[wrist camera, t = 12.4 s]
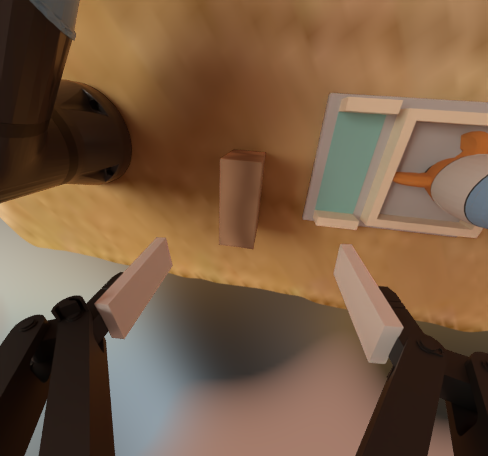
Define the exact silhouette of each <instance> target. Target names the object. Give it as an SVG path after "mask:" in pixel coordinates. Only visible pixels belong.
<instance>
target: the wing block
mask: <svg viewBox="0 0 488 456" xmlns="http://www.w3.org/2000/svg"><path fill="white" fill-rule="evenodd" d="M265 154H266V152H256V151H245V150H232V151H231V152H229V153H228V154H226V155H225V156H223V157H222V158H220V207H219V245H226V246H234V247H241V248H249V249H253V248H254V242H255V237H256V231H257V225H258V218H259V209H260V200H261V191H262V181H263V172H264V163H265Z"/></svg>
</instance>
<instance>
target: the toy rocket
mask: <svg viewBox="0 0 488 456" xmlns="http://www.w3.org/2000/svg"><path fill="white" fill-rule="evenodd" d="M460 149H461V150H462V152H461V153H460V154H459V155H457V156H456V157H455V158H448V159H445V160H442V161H440V162H437V163H436V164H434V165H432V166H431V167H429V168H428V169H427V170H426V171H425V173H412V172H396V173H395V175H394V178H393V180H392V181H393V182H395V183H398V184H401V185H406V186H413V187H423V188H425V190H426V191H427V193H428V194H429V195H430V197H431V198H432V200H433V201H434V202H435V203H436V205H437V206H439V207H440V208H441V209H442V210H444V211H445V212H447V213H449V214H450V215H452V216H454V217H456V218H458V219H460V220H462V221H464V222H466V223H469V224H471V225H475V226H478V227H482V228H486V229H488V133H486V132H483V131H471V132H468V133H465V134H463V135H461V143H460Z"/></svg>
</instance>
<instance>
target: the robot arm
mask: <svg viewBox="0 0 488 456" xmlns="http://www.w3.org/2000/svg"><path fill="white" fill-rule="evenodd" d="M79 1H80V0H0V203H3V202H6V201H9V200H13V199H16V198H19V197H22V196H26V195H29V194H32V193H36V192H39V191H42V190H46V189H49V188H52V187H55V186H59V185H62V184H83V185H100V184H104V183H107V182H110V181H113V180H115V179H117V178H119V177H120V176H122V175H123V174H124V172H125V171H126V170H127V168H128V166H129V163H130V159H131V140H130V136H129V132H128V129H127V127H126V124H125V122H124V120H123V118H122V117H121V115H120V113H119V112H118V110H117V109H116V108H115V106H114V105H113V104H112V103H111V102H110V101H109V100H108V99H107V98H106V97H105V96H104V95H103V94H102V93H100V92H99V91H97V90H96V89H94V88H92V87H90V86H88V85H86V84H83V83H79V82H74V81H69V80H61V78H62V74H63V70H64V67H65V63H66V60H67V56H68V53H69V49H70V46H71V42H72V40H74V41H75V38H76V33H75V31H74V29H75V23H76V18H77V12H78V6H79ZM172 266H173V265H172V261H171V257H170V253H169V249H168V244H167V240H166V238H160V237H157V238H156V239H155V240H154V241H153V242H152V243H151V244H150V245H149V246H148V247H147V248H146V249H145V250H144V251H143V252H142V254H141V255H140V256H139V257H138V258H137V259H136V260H135V261H134V262H133V263H132V264H131V265H130V266H129V267H128V268H127V269H126V271H125V272H120V273H118V274H117V275H115V276H114V277H112V278H111V279H110V280H109V281H108V282H107V284H105V285H104V286H103V287H102V289H100V290H99V291H98V292H97V293H96V294H95V295H94V296H93V297H92V298H91V299H90V300H89V302H87V304H86V303H85V301H84V299H83V297H81V296H72V297H68V298H66V299H63V300H62V301H60V302H59V303H57V304H56V305H55V306H54V307H53V309H52V311H51V312H52V314H53V315H54V316H55V318H56V319H53V320H48V321H47V320H46V319H45V317H44V316H43V315H34V316H31V317H28V318H26V319H24V320H22V321H21V322H19V323H18V324H17V325H15V327H14V328H13V329H12V330H11V331H10V333H9V334H8V335H7V337H6V338H5V340H4V341H3V343H2V344H1V346H0V456H24V455H25V453H26V450H27V448H28V445H29V443H30V440H31V438H32V435H33V433H34V430H35V428H36V425H37V423H38V420H39V418H40V415H41V413H42V410H43V408H44V405H45V403H46V400H47V404H46V410H45V418H44V424H43V431H42V438H41V444H40V451H39V456H115V450H114V436H113V423H112V411H111V398H110V387H109V374H108V361H107V348H106V340H105V338H104V336H105V335H106V334H107V332H108V331H109V333H110V335H111V337H112V338H120V339H124V338H125V337H126V336H127V334H128V333H129V331H130V330H131V328H132V327H133V325H134V323H135V322H136V320H137V319H138V317H139V316H140V314H141V313H142V311H143V310H144V308H145V307H146V305H147V304H148V302H149V301H150V299H151V298H152V296H153V295H154V293H155V292H156V290H157V288H158V287H159V285H160V284H161V282H162V281H163V279H164V278H165V276H166V275H167V273H168V272H169V270H170V269H171V267H172ZM334 276H335V279H336V281H337V284H338V286H339V289H340V291H341V294H342V297H343V299H344V302H345V304H346V307H347V309H348V312H349V314H350V317H351V319H352V322H353V324H354V327H355V329H356V332H357V334H358V337H359V339H360V342H361V344H362V346H363V349H364V352H365V355H366V357H367V360H368V362H370V363H380V364H385V363H386V361H387V359H388V357H389V358H390V360H391V362H392V364H393V367H392V368H391V370H390V372H389V374H388V376H387V380H386V383H385V385H384V388H383V390H382V392H381V395H380V397H379V400H378V402H377V405H376V407H375V409H374V412H373V414H372V417H371V419H370V422H369V424H368V426H367V429H366V431H365V434H364V436H363V439H362V441H361V444H360V446H359V448H358V451H357V453H356V456H427V455H428V450H429V445H430V440H431V436H432V431H433V426H434V421H435V416H436V411H437V406H438V401H439V398H442V399H444V400H445V403H446V409H447V415H448V421H449V428H450V434H451V440H452V446H453V452H454V456H488V354H487V353H483V352H474V353H473V354H471V356H470V357H467V356H464V355H461V354H457V353H454V352H452V351H449V350H446V349H444V347H443V346H442V345H441V344H440V343H439V342H438V341H437V340H435V339H434V338H432V337H431V336H428V335H426V334H424V333H423V332H422V330H421V329H420V328H419V326H418V325H417V323H416V322H415V320H414V319H413V317H412V316H411V315H410V313H409V312H408V310H407V309H406V307H405V306H404V305H403V303H401V300H400V299H399V297H398V296H397V295H396V293H394V292H393V291H392V290H391V289H389V288H388V287H383V286H377V284H376V282H375V281H374V279H373V278H372V276H371V275H370V273H369V271H368V270H367V268H366V267H365V265H364V263H363V262H362V260H361V259H360V257H359V255H358V254H357V252H356V251H355V249H354V247H353V246H352V244H340V247H339V252H338V256H337V261H336V265H335V269H334Z"/></svg>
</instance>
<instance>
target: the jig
mask: <svg viewBox="0 0 488 456" xmlns="http://www.w3.org/2000/svg"><path fill="white" fill-rule="evenodd" d="M471 131H483V132H486V133H488V102H473V101H456V100H440V99H423V98H407V97H390V96H374V95H357V94H341V93H330V94H329V96H328V101H327V106H326V110H325V115H324V119H323V124H322V129H321V133H320V138H319V143H318V147H317V152H316V156H315V161H314V166H313V170H312V175H311V179H310V184H309V189H308V193H307V198H306V203H305V207H304V212H303V216H302V218H303V220H312V221H314V222H315V224H316V225H318V226H326V227H335V228H343V229H352V230H357V227H358V226H363V227H372V228H381V229H389V230H398V231H407V232H415V233H424V234H433V235H441V236H450V237H457V236H461V237H470V238H477V237H478V235H479V234H480V232H481V231H482V230H483V228H482V227H478V226H475V225H471V224H469V223H466V222H464V221H462V220H460V219H458V218H456V217H454V216H452V215H450V214H449V213H447V212H445V211H444V210H442V209H441V208H440V207H439V206H437V205H436V203H435V202H434V201H433V200H432V198H431V197H430V195H429V194H428V193H427V191H426V190H425V188H423V187H413V186H406V185H401V184H398V183H395V182H393V181H392V180H393V178H394V175H395V173H396V172H412V173H425V171H426V170H427V169H428V168H429V167H431V166H432V165H434V164H436V163H437V162H440V161H442V160H445V159H448V158H455V157H456V156H457V155H459V154H460V153H461V152H462V150H461V149H460V143H461V135H463V134H465V133H468V132H471Z"/></svg>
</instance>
